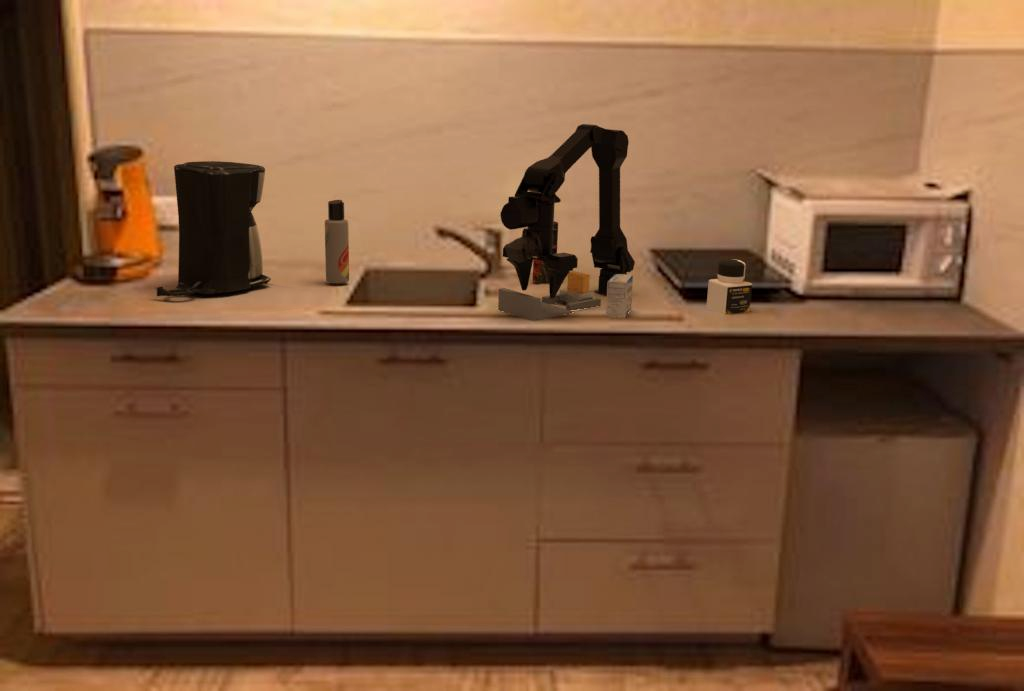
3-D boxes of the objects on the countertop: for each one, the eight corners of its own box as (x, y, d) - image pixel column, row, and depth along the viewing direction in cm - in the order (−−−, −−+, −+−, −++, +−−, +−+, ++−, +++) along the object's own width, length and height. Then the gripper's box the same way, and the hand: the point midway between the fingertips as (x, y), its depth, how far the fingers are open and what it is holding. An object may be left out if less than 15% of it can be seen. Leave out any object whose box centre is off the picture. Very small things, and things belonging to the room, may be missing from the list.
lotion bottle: (354, 280, 253) (352, 200, 247) (338, 284, 248) (336, 202, 243) (336, 277, 256) (335, 198, 250) (321, 281, 251) (319, 200, 246)
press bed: (568, 298, 242) (569, 276, 240) (605, 308, 233) (606, 286, 232) (498, 311, 228) (498, 288, 226) (534, 322, 219) (535, 299, 217)
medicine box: (625, 320, 223) (627, 282, 221) (605, 318, 224) (607, 280, 222) (631, 312, 231) (633, 274, 228) (611, 310, 232) (613, 273, 229)
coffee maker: (281, 278, 254) (276, 160, 246) (230, 304, 227) (224, 172, 219) (207, 272, 257) (201, 156, 249) (150, 297, 231) (140, 168, 223)
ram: (574, 296, 238) (575, 270, 237) (592, 301, 234) (594, 274, 232) (559, 299, 235) (560, 272, 234) (577, 304, 231) (578, 277, 229)
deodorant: (558, 283, 257) (561, 224, 253) (535, 283, 255) (537, 224, 251) (552, 278, 262) (554, 220, 258) (529, 278, 261) (531, 220, 257)
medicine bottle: (725, 316, 229) (730, 264, 226) (705, 309, 235) (709, 258, 232) (750, 313, 232) (755, 262, 229) (729, 306, 238) (734, 256, 235)
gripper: (484, 221, 223) (483, 290, 228) (542, 234, 210) (540, 307, 214) (522, 217, 230) (520, 284, 235) (580, 229, 217) (577, 300, 221)
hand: (538, 294), depth 226 cm, fingers open, 9 cm apart
